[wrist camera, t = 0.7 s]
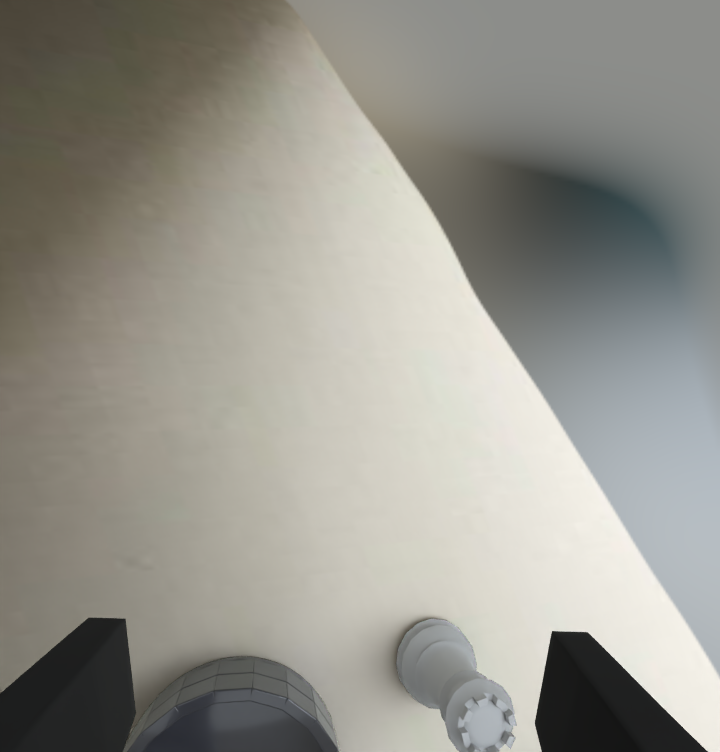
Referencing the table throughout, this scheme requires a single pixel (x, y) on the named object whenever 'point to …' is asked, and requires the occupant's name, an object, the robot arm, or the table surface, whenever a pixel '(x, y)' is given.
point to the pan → (236, 712)
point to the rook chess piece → (455, 686)
